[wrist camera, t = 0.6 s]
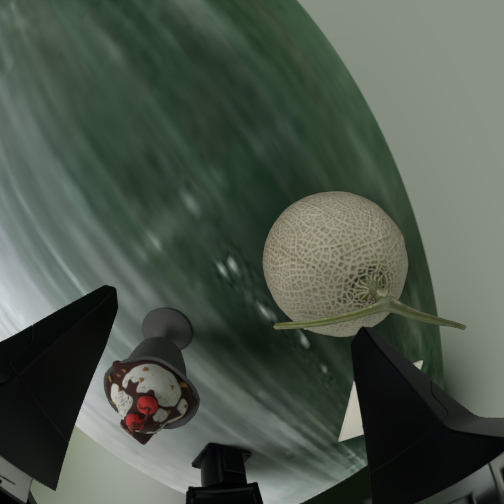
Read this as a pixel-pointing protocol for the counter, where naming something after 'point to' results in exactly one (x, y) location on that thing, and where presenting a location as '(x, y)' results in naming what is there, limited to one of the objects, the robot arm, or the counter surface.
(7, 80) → the counter surface
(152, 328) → the sundae
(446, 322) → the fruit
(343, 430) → the card
